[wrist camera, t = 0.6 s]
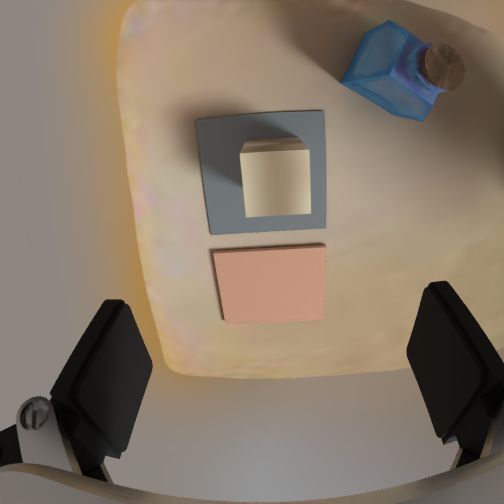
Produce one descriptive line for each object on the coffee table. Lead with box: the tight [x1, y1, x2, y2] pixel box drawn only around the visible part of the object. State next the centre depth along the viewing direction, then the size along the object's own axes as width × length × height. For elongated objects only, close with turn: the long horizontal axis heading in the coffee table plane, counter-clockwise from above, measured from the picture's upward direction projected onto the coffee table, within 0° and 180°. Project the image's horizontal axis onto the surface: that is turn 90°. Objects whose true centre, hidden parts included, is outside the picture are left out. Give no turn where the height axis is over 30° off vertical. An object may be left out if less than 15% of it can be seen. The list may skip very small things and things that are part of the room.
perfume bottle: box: [341, 20, 465, 122], centre depth 18 cm, size 6×6×12 cm
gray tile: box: [195, 111, 326, 235], centre depth 29 cm, size 12×12×1 cm
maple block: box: [240, 137, 311, 217], centre depth 25 cm, size 5×5×7 cm
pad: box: [213, 245, 326, 324], centre depth 35 cm, size 12×10×1 cm
